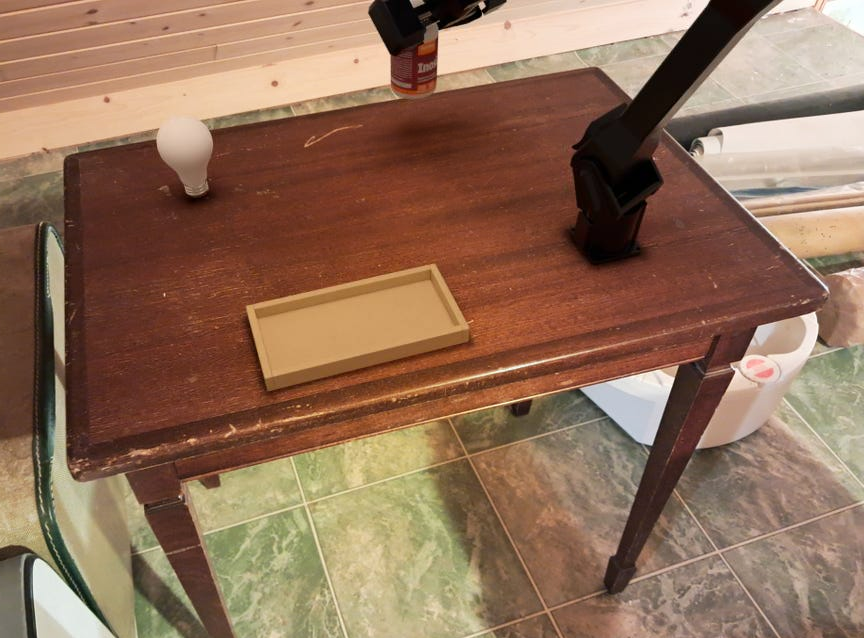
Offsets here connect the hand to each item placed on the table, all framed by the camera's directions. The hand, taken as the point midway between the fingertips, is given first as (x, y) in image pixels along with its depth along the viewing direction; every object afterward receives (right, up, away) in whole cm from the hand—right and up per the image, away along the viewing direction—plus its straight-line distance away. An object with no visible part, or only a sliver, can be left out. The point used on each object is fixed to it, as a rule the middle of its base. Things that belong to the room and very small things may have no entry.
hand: (406, 37), depth 93 cm
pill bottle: (+1, -5, +4) cm, 7 cm away
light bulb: (-27, -20, +1) cm, 34 cm away
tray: (-6, -38, -15) cm, 42 cm away
